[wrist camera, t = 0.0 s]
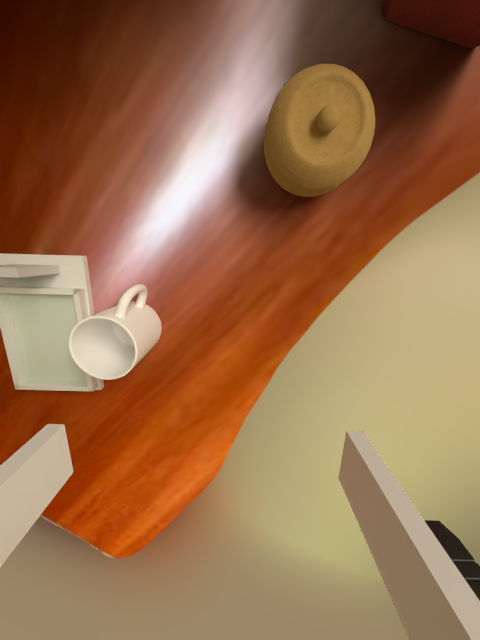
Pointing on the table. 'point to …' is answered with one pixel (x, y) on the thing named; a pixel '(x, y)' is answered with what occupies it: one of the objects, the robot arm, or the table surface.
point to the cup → (116, 337)
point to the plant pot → (438, 18)
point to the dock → (44, 319)
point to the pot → (319, 130)
